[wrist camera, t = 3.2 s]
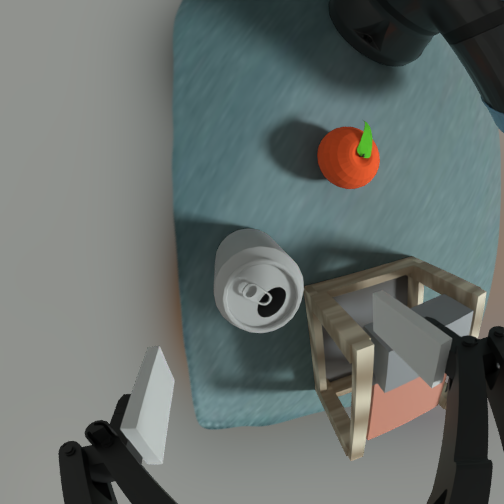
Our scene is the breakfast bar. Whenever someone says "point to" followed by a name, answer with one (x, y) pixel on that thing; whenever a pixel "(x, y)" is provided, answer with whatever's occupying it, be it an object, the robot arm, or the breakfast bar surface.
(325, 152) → the clementine
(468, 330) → the grey and pink block
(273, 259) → the can
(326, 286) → the frame
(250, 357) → the breakfast bar surface
